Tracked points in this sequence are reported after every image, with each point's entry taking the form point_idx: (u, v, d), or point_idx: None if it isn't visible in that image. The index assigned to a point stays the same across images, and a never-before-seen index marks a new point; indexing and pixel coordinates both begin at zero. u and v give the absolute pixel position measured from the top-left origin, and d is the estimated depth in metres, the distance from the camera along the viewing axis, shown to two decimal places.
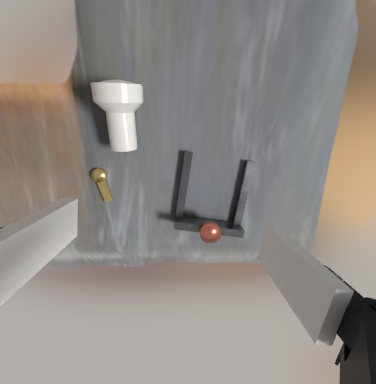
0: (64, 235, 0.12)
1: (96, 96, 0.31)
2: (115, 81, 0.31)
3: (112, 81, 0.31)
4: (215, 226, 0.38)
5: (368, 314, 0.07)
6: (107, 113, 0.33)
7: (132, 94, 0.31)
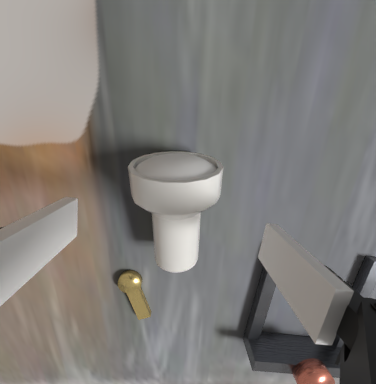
0: (64, 235, 0.12)
1: (142, 200, 0.16)
2: (181, 170, 0.15)
3: (175, 171, 0.15)
4: (327, 376, 0.23)
5: (368, 314, 0.07)
6: (157, 217, 0.18)
7: (212, 193, 0.16)
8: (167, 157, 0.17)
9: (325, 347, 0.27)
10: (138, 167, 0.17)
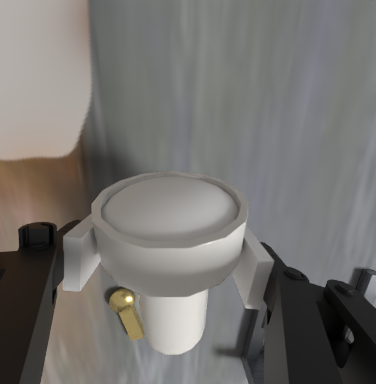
0: None
1: (111, 268, 0.09)
2: (179, 217, 0.09)
3: (169, 218, 0.09)
4: None
5: (282, 281, 0.08)
6: None
7: (234, 253, 0.09)
8: (157, 187, 0.11)
9: None
10: (109, 205, 0.10)
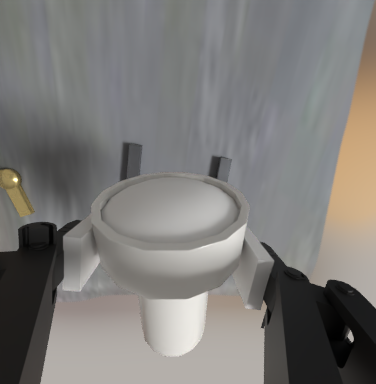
0: None
1: (111, 270, 0.09)
2: (179, 218, 0.09)
3: (169, 219, 0.09)
4: None
5: (283, 281, 0.08)
6: None
7: (234, 255, 0.09)
8: (157, 188, 0.11)
9: None
10: (109, 206, 0.10)
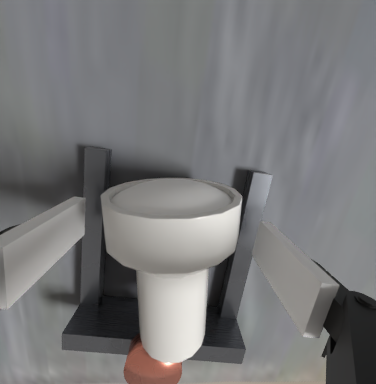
0: (73, 233, 0.12)
1: (117, 249, 0.10)
2: (180, 200, 0.10)
3: (171, 200, 0.10)
4: None
5: (352, 307, 0.07)
6: (143, 273, 0.12)
7: (230, 235, 0.10)
8: (160, 182, 0.12)
9: None
10: (116, 196, 0.11)
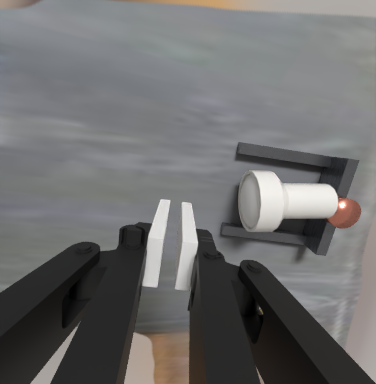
0: None
1: (270, 228, 0.24)
2: (253, 203, 0.24)
3: (252, 206, 0.24)
4: None
5: (202, 263, 0.08)
6: (285, 217, 0.26)
7: (270, 183, 0.23)
8: (243, 206, 0.27)
9: (326, 179, 0.29)
10: (248, 225, 0.27)
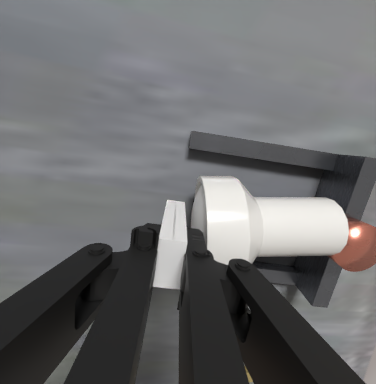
0: None
1: None
2: None
3: None
4: None
5: (190, 262, 0.08)
6: (258, 255, 0.15)
7: (228, 200, 0.13)
8: None
9: (328, 189, 0.19)
10: None
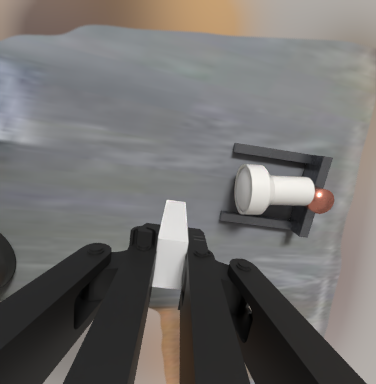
0: None
1: (260, 210, 0.30)
2: (246, 189, 0.30)
3: (246, 192, 0.30)
4: None
5: (191, 262, 0.08)
6: (272, 202, 0.32)
7: (260, 174, 0.29)
8: (238, 193, 0.33)
9: (308, 173, 0.35)
10: (242, 209, 0.33)
